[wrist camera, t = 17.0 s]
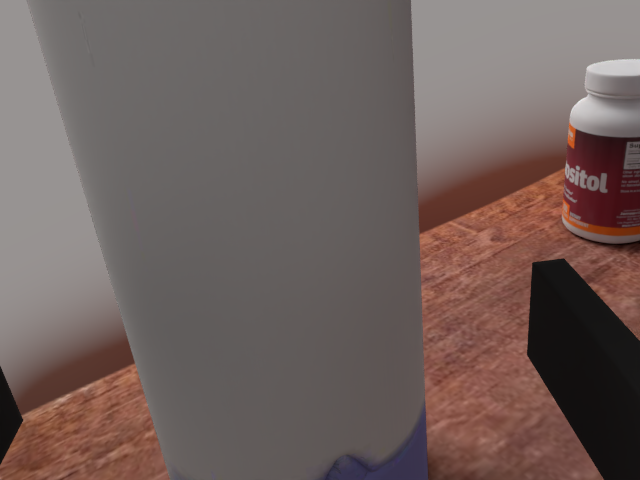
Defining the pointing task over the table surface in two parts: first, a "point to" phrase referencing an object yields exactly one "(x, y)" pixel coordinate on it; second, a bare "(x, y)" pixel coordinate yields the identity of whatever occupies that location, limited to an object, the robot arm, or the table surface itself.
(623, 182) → the pill bottle
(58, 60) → the container
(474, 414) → the table surface
